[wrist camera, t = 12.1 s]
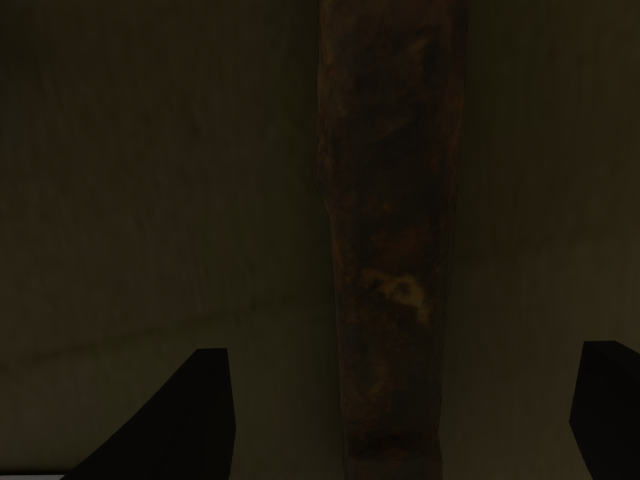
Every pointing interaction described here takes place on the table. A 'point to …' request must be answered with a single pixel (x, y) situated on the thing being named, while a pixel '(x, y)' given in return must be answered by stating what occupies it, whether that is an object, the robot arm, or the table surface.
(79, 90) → the table surface
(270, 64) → the table surface
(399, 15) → the hand tool
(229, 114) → the table surface
